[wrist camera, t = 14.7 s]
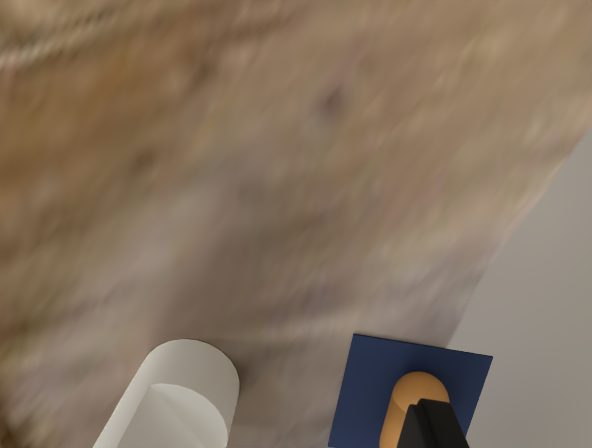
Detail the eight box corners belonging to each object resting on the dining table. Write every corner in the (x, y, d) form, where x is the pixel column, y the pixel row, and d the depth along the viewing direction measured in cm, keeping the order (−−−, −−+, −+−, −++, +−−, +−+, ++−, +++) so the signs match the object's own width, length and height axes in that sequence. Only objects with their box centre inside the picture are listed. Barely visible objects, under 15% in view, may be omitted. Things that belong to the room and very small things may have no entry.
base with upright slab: (118, 369, 40) (42, 484, 29) (198, 321, 38) (150, 423, 27) (181, 438, 42) (132, 572, 31) (259, 396, 41) (238, 520, 29)
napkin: (353, 333, 38) (353, 334, 38) (492, 356, 38) (493, 357, 38) (327, 445, 42) (328, 446, 42) (454, 465, 42) (455, 466, 42)
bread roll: (393, 356, 39) (405, 392, 34) (446, 364, 39) (465, 400, 34) (370, 443, 41) (379, 487, 37) (419, 450, 42) (433, 493, 37)
